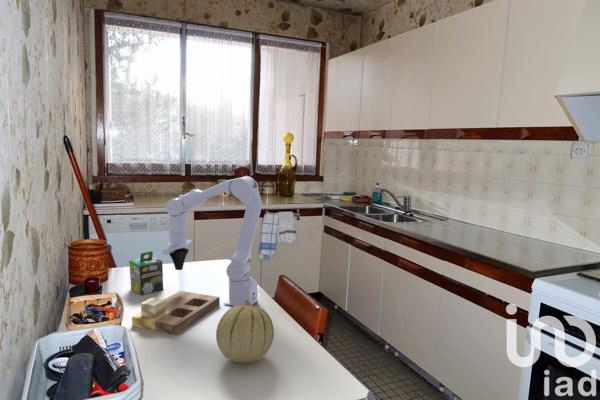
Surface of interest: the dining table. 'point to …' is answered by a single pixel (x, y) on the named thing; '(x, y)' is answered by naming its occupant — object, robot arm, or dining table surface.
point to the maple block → (153, 307)
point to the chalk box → (146, 274)
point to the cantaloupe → (245, 333)
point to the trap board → (178, 312)
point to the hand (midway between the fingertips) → (178, 269)
